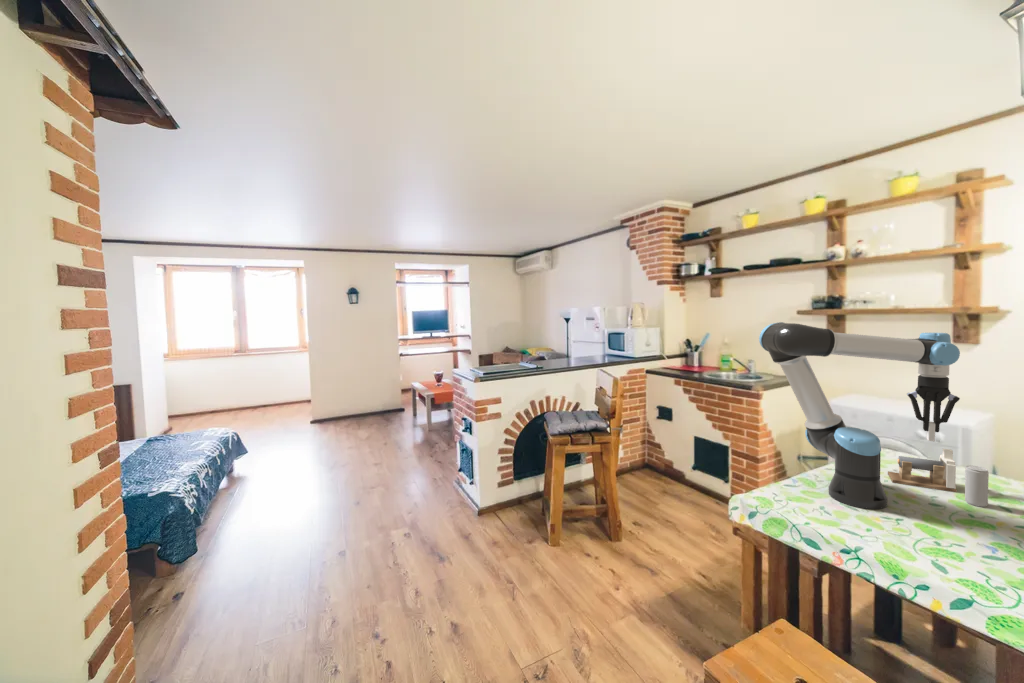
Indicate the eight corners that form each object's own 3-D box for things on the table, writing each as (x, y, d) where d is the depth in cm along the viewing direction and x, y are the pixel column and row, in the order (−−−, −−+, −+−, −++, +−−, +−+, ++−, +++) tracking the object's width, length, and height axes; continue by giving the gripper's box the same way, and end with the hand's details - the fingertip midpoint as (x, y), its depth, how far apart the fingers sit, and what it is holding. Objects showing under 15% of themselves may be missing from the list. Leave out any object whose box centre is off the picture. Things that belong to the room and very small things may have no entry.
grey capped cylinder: (899, 468, 143) (899, 457, 143) (896, 464, 146) (896, 454, 146) (945, 474, 136) (945, 463, 136) (942, 470, 139) (942, 459, 139)
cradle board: (892, 482, 143) (892, 461, 142) (887, 473, 150) (887, 453, 149) (956, 492, 133) (957, 469, 133) (948, 482, 140) (948, 461, 140)
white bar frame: (946, 487, 135) (947, 453, 134) (939, 478, 142) (939, 445, 141) (955, 488, 133) (956, 454, 133) (947, 479, 140) (947, 446, 140)
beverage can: (992, 507, 122) (993, 471, 122) (974, 507, 123) (975, 470, 123) (977, 500, 127) (978, 465, 126) (960, 500, 128) (960, 465, 127)
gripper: (909, 375, 138) (907, 440, 140) (964, 378, 130) (961, 446, 132) (905, 373, 144) (902, 434, 146) (957, 375, 136) (954, 440, 138)
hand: (930, 440), depth 139 cm, fingers closed
